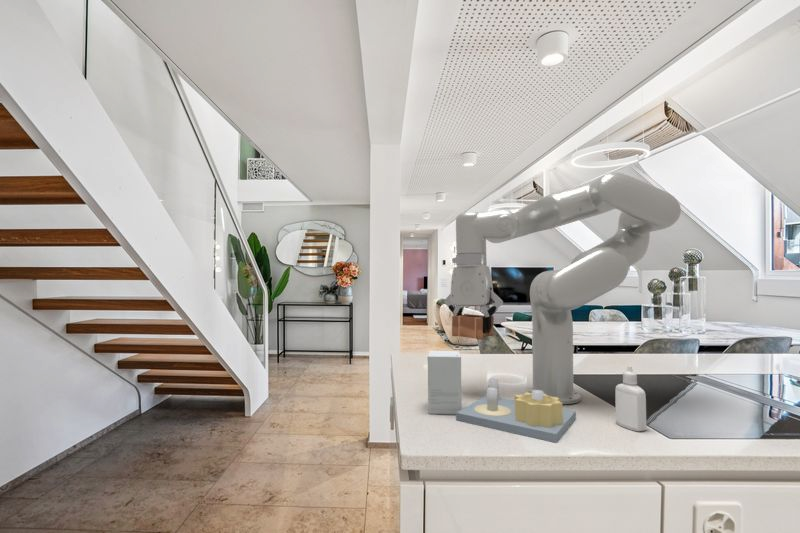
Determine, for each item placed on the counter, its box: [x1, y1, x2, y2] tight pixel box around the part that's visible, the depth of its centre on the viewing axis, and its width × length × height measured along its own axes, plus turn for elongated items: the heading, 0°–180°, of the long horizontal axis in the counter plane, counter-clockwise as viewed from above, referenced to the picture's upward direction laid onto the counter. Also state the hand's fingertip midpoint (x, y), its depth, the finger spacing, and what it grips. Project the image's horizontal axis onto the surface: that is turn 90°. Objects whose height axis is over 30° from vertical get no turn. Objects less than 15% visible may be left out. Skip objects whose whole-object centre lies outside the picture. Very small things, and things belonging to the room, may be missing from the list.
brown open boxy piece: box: [451, 313, 495, 341], centre depth 101 cm, size 8×8×5 cm
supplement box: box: [427, 350, 462, 415], centre depth 90 cm, size 7×7×13 cm
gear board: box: [455, 377, 577, 443], centre depth 84 cm, size 16×20×7 cm
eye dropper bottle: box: [614, 365, 647, 432], centre depth 80 cm, size 4×6×12 cm
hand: (473, 331), depth 101 cm, fingers closed on brown open boxy piece, 6 cm apart
